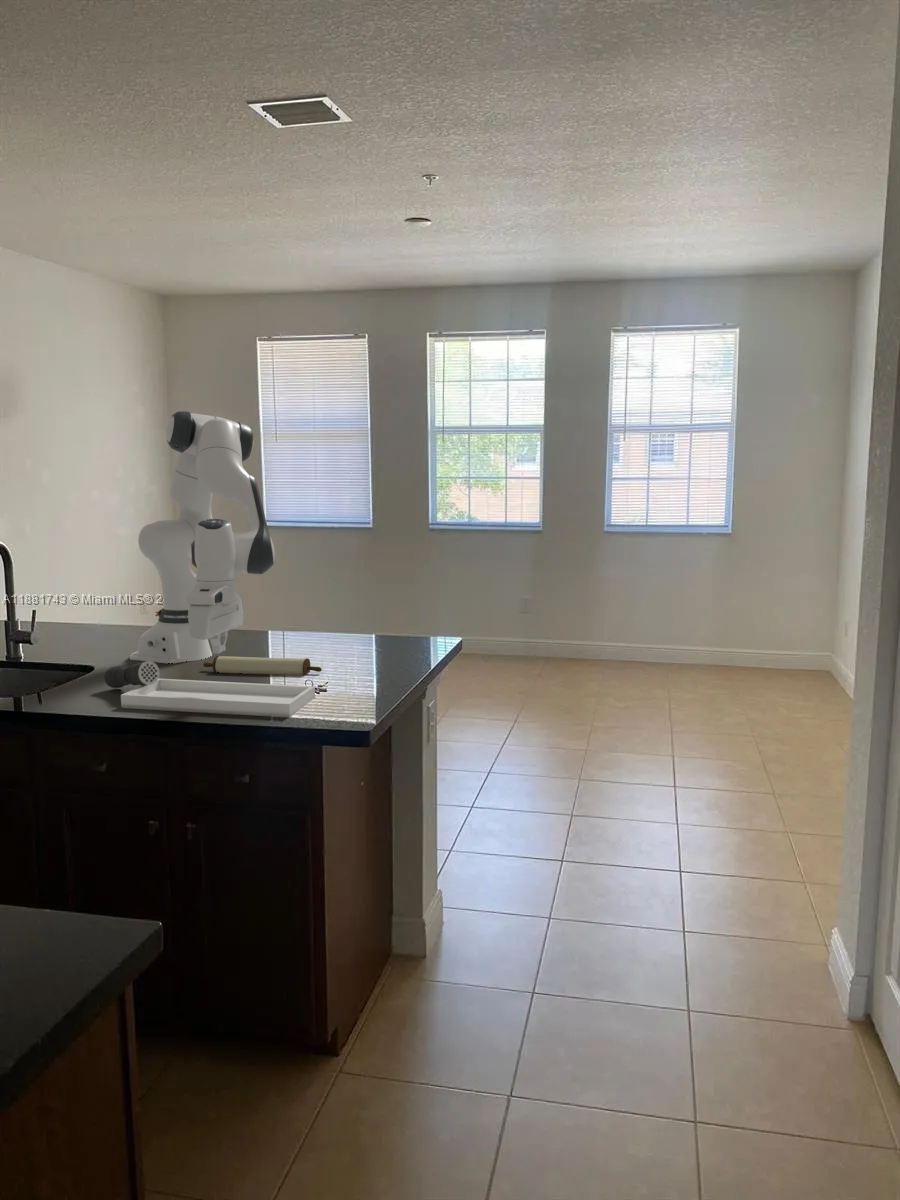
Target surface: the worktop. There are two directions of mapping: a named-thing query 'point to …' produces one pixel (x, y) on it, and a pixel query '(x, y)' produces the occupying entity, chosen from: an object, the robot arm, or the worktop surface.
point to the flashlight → (132, 675)
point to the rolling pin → (261, 665)
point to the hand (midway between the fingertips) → (219, 652)
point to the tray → (219, 697)
